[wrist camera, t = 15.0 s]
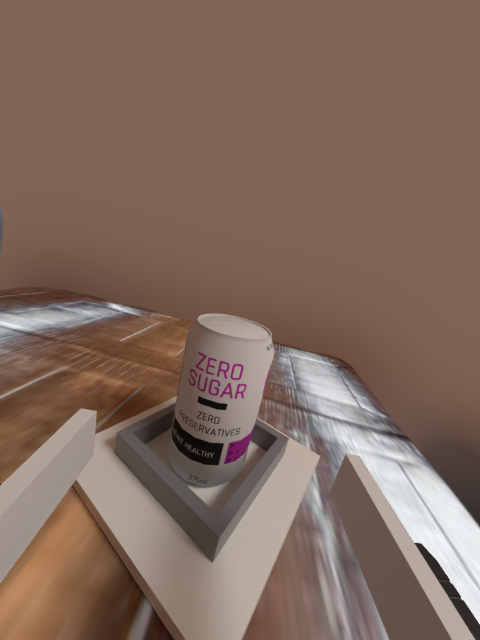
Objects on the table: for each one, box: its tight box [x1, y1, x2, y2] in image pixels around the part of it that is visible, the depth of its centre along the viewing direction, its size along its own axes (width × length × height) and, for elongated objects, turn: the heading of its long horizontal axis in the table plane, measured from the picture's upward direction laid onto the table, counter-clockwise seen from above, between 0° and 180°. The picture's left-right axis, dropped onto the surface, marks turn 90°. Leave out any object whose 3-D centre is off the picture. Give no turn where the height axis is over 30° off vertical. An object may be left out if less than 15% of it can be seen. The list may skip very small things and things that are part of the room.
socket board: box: [72, 396, 320, 640], centre depth 25 cm, size 20×20×4 cm
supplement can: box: [168, 314, 274, 486], centre depth 23 cm, size 8×8×15 cm
